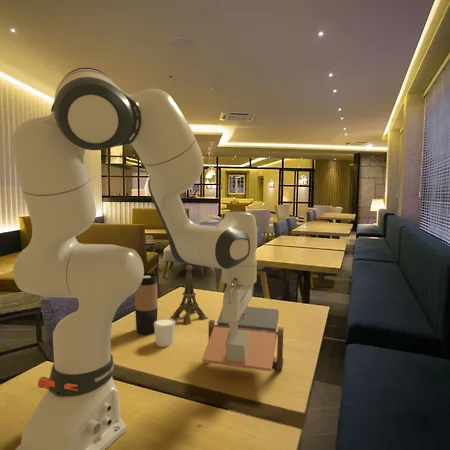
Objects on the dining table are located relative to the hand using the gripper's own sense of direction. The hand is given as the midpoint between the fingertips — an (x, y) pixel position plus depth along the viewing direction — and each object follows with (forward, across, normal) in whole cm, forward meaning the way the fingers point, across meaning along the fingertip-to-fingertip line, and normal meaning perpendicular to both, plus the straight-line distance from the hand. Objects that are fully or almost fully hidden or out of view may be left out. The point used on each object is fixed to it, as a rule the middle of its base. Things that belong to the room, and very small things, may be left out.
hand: (238, 326), depth 90 cm
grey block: (+8, 0, 0) cm, 8 cm away
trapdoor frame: (+15, +11, 0) cm, 19 cm away
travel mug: (+15, +24, +38) cm, 47 cm away
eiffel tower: (+15, +40, +28) cm, 51 cm away
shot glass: (+15, +16, +28) cm, 36 cm away
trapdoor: (+7, +9, 0) cm, 11 cm away
